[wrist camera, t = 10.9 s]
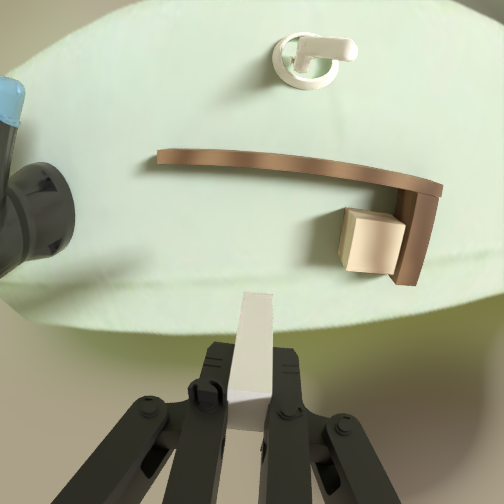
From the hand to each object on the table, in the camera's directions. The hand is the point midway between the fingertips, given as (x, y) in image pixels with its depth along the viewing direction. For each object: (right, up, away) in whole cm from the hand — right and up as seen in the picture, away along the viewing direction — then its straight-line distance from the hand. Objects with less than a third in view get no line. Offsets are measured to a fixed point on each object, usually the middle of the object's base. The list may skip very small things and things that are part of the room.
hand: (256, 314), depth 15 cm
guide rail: (+6, +8, +18) cm, 20 cm away
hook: (+6, +25, +11) cm, 28 cm away
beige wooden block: (+14, +6, +18) cm, 23 cm away
